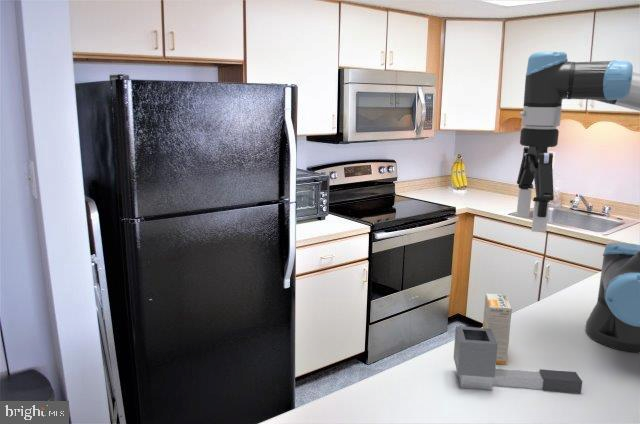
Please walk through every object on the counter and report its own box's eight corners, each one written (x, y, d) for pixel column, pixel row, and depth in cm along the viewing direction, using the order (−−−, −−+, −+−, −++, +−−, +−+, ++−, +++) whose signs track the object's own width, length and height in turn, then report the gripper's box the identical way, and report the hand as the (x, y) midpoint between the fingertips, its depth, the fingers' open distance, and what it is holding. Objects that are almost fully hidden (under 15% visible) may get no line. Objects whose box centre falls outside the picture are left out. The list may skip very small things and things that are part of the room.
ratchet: (572, 380, 105) (576, 347, 103) (583, 397, 99) (587, 362, 97) (456, 371, 108) (459, 339, 106) (460, 387, 102) (463, 353, 100)
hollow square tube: (488, 359, 107) (490, 328, 105) (494, 377, 100) (497, 344, 99) (453, 357, 108) (455, 326, 106) (457, 374, 101) (460, 342, 99)
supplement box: (507, 365, 111) (513, 308, 108) (484, 363, 112) (489, 306, 109) (502, 347, 118) (507, 294, 116) (480, 345, 119) (485, 292, 117)
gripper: (509, 124, 123) (501, 210, 127) (537, 131, 99) (526, 237, 103) (541, 124, 122) (532, 211, 126) (579, 131, 98) (566, 239, 102)
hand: (530, 223), depth 115 cm, fingers open, 13 cm apart
